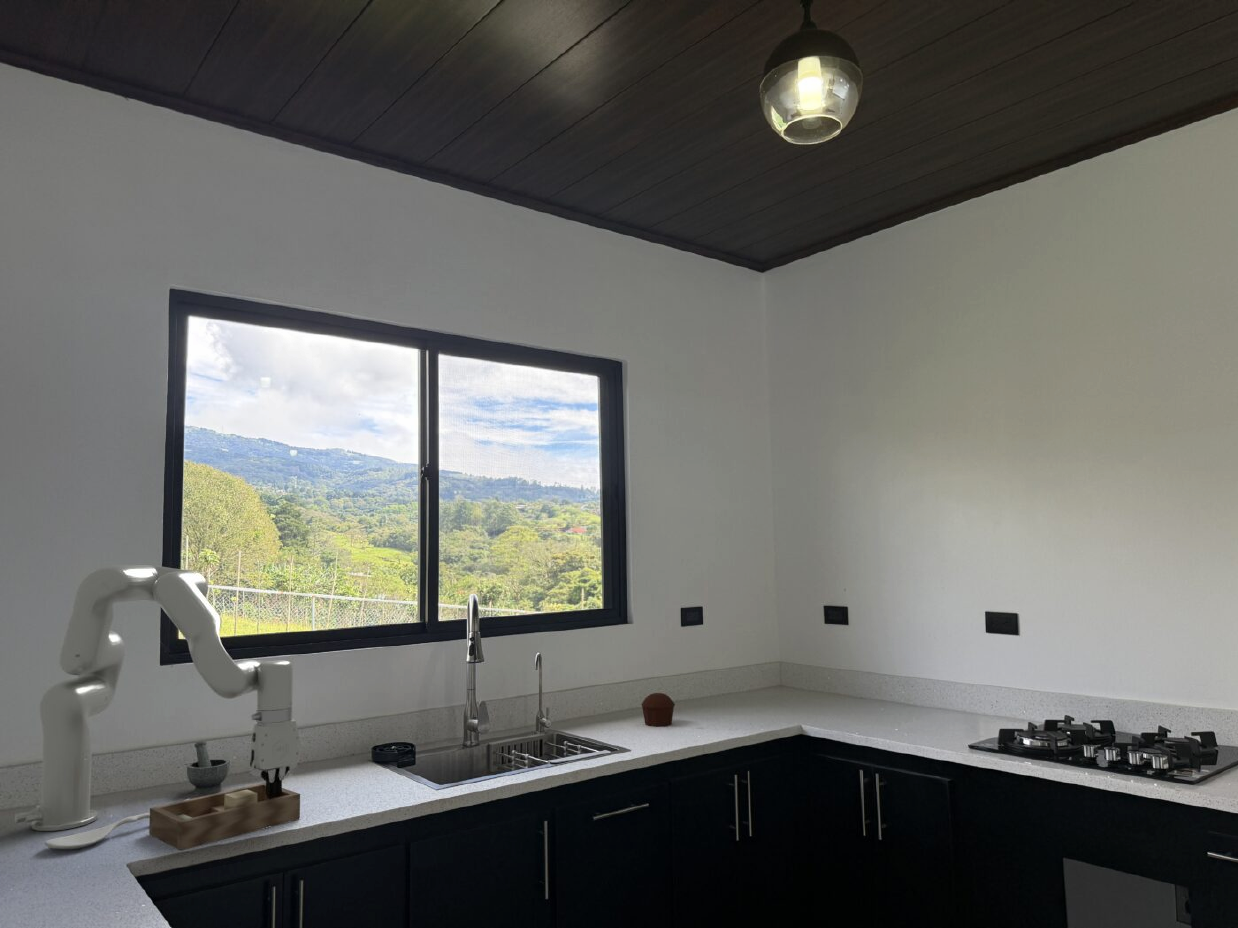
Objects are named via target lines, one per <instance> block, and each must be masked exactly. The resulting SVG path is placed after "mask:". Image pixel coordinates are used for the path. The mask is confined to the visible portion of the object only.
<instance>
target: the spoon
mask: <svg viewBox="0 0 1238 928" xmlns="http://www.w3.org/2000/svg"><path fill="white" fill-rule="evenodd" d="M189 799H190V798H187V799H186V798H185V800H189ZM144 819H150V812H146V813H145V812H144V813H141V814H137V815H132V816H131V815H130V816H127V817H125V818H123V819H122V818H121V819H119V820H118V821H115V822H113V823H111V824H109V825H108V824H107V825H106V826H103V827H100V828H95V829H93V830H87V831H84V832H83V831H82V832H78V833H75V834H72V835H71V834H70V835H67V836H60V837H54V838H51V839H46V840H45V841H44V845H45V847H48V848H50V849H54V850H55V849H58V850H79V849H84V848H86V847H89V846H91V845H94V844H96V843H98V842H100V841H101V840H103V839H105V838H106V837H107V836H108V835H110V833H112V831H114V830H116V828H119V827H120V826H123V825H124V824H128V823H135V822H136V821H137V822H138V821H141V820H144Z"/></svg>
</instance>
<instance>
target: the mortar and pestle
mask: <svg viewBox="0 0 1238 928" xmlns="http://www.w3.org/2000/svg"><path fill="white" fill-rule="evenodd" d="M207 743H208V742H207V741H206V740H200V741H196V743H194V746H193V747H194V748H195V749H196V757H197V761H195V762H191V763H189V764H188V765H187V767H186V774H187V775H186V776H187V779H188V782H190V784H191V785H192V786H194V787H195V788H194V793H195V794H194V795H197V796H199V795H200V796H207V795H211V794H216V793H220V792H221V791H222V790H221V789H222V783H223V782H224V781H225V780H226V778H227V777H228V775H229V771H230V766H231V765H230V763H231V761H230V760H228V759H225V758H212V759H210V756H209V752H208V749H207Z"/></svg>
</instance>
